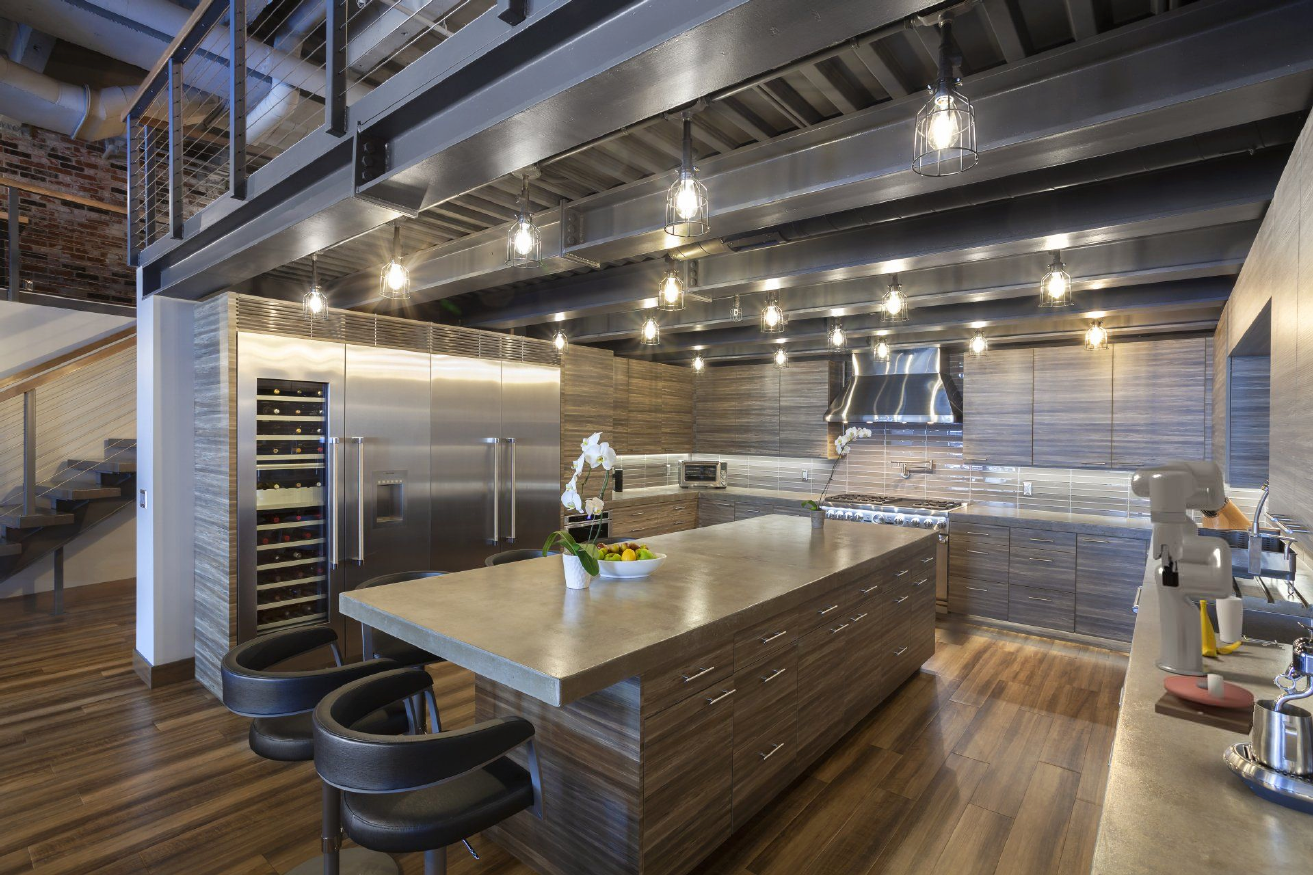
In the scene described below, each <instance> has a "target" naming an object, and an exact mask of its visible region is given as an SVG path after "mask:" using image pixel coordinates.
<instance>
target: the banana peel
mask: <svg viewBox="0 0 1313 875" xmlns="http://www.w3.org/2000/svg"><path fill="white" fill-rule="evenodd" d="M1199 603H1200V604H1199V605H1200V613H1201V630H1202V656H1204V657H1205V656H1206V657H1214V658H1218V654H1221V655H1228V654H1231V653H1232V652H1234V651H1236V650H1237V648H1239V647H1240V646H1241V644H1242V641H1241V642H1239V641H1238V642H1236V643H1235V644H1230V645H1227V646H1223V647H1218V646H1217V641H1216V634H1215V630H1214V628H1213V625H1212V623H1211V622H1212V621H1211V620H1210V617H1209V615H1208V610H1207V605H1208V601H1207V600H1204V599H1202V600H1201V599H1200V600H1199Z"/></svg>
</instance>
